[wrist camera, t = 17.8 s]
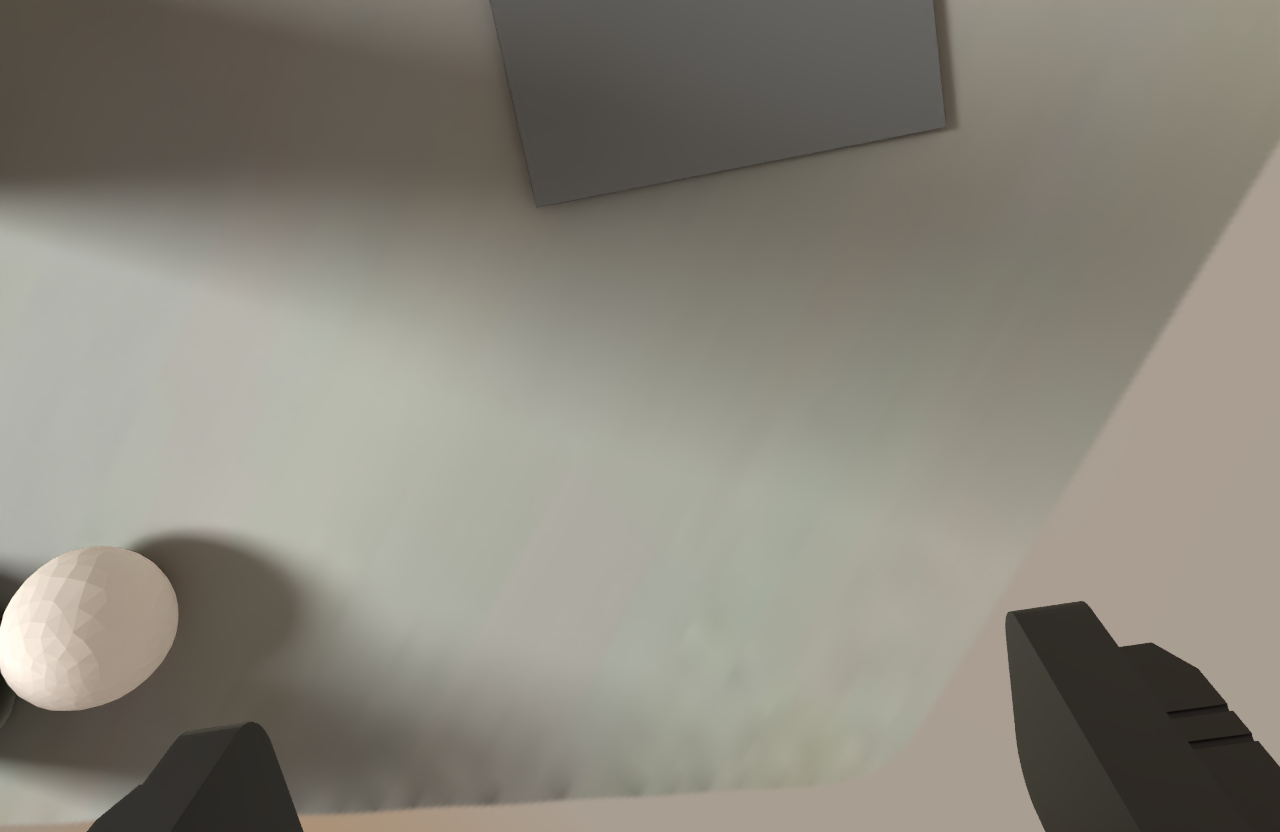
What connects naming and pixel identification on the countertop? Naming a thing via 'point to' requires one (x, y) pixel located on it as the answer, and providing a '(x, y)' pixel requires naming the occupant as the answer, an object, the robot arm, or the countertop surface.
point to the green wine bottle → (5, 699)
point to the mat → (708, 84)
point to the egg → (87, 628)
